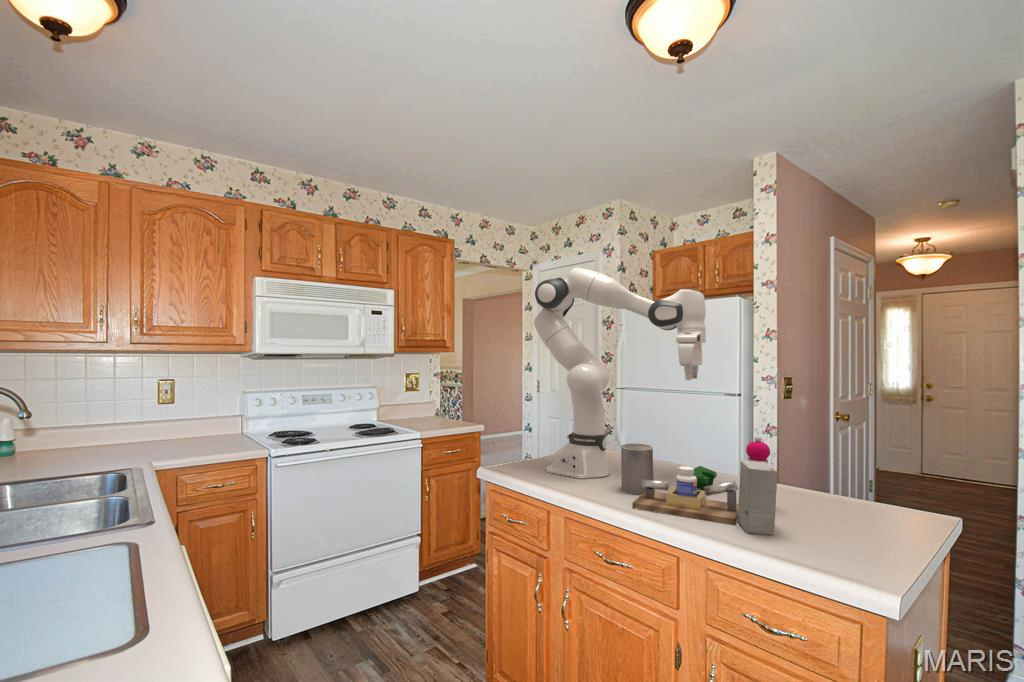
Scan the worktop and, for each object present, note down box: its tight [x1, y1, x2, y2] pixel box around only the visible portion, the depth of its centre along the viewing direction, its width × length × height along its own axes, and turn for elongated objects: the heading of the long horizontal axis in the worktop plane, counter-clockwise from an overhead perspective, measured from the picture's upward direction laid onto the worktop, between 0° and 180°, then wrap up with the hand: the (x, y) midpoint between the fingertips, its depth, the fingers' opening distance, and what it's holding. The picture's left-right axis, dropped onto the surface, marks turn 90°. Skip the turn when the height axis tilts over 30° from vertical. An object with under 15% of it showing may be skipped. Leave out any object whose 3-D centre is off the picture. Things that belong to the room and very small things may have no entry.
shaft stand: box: [631, 479, 739, 526], centre depth 137 cm, size 26×14×9 cm, turn 60°
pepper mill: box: [745, 435, 771, 464], centre depth 138 cm, size 7×7×20 cm
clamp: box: [693, 465, 718, 491], centre depth 158 cm, size 12×6×9 cm, turn 133°
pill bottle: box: [675, 465, 698, 497], centre depth 137 cm, size 5×5×10 cm
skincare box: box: [737, 459, 778, 536], centre depth 122 cm, size 8×7×16 cm
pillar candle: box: [620, 442, 654, 495], centre depth 155 cm, size 10×10×15 cm
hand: (691, 379), depth 165 cm, fingers open, 8 cm apart
